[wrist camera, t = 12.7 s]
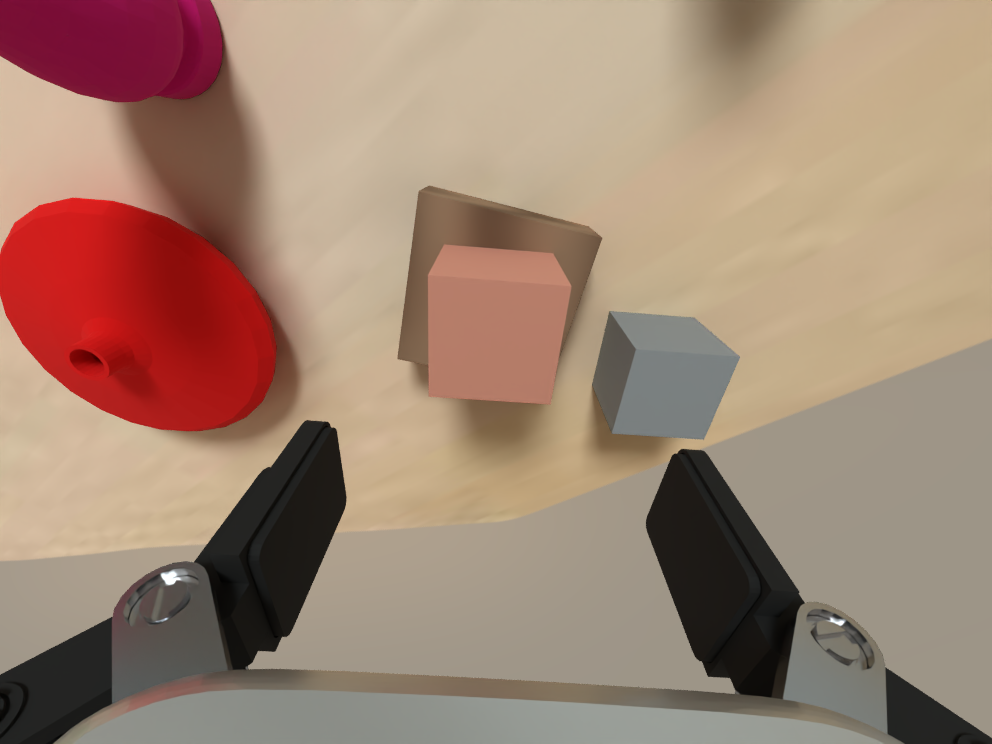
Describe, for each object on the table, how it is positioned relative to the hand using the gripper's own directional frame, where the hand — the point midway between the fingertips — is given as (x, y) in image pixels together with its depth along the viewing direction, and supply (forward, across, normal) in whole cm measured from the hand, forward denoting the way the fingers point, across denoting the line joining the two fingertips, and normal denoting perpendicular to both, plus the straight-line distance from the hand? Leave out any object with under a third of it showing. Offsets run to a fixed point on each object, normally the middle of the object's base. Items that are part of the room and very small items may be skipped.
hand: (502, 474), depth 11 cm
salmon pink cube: (+14, 0, 0) cm, 14 cm away
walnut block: (+18, +1, 0) cm, 18 cm away
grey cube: (+18, -11, +4) cm, 21 cm away
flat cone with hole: (+18, +22, +4) cm, 29 cm away
